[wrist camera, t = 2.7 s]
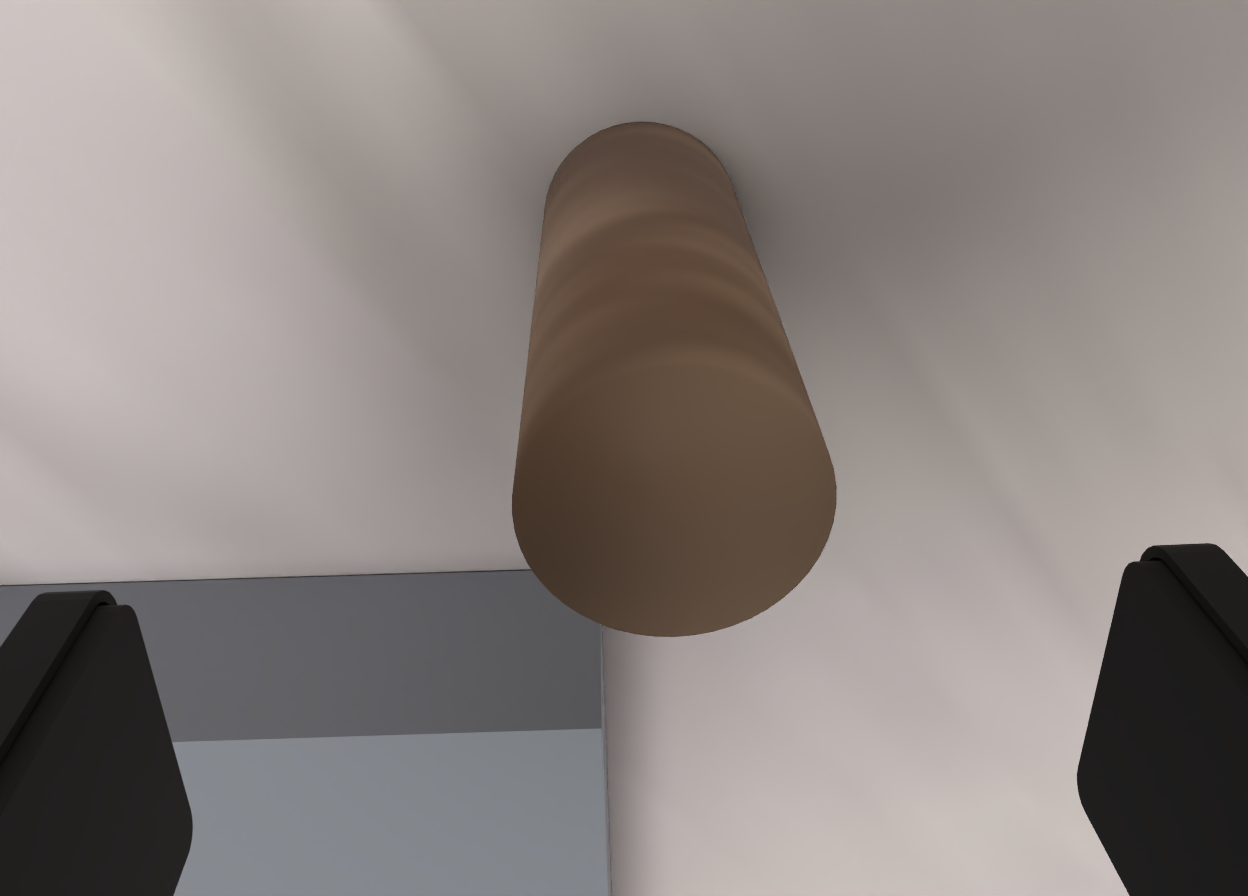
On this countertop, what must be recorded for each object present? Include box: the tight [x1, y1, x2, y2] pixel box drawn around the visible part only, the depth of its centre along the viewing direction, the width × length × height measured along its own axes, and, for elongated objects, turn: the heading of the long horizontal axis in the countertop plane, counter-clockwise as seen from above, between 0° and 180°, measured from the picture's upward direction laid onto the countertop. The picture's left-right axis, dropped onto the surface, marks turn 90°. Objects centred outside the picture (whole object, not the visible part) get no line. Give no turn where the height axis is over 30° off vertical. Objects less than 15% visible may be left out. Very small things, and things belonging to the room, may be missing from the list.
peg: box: [512, 122, 836, 637], centre depth 17 cm, size 4×4×10 cm
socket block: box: [0, 570, 612, 896], centre depth 26 cm, size 14×14×5 cm
